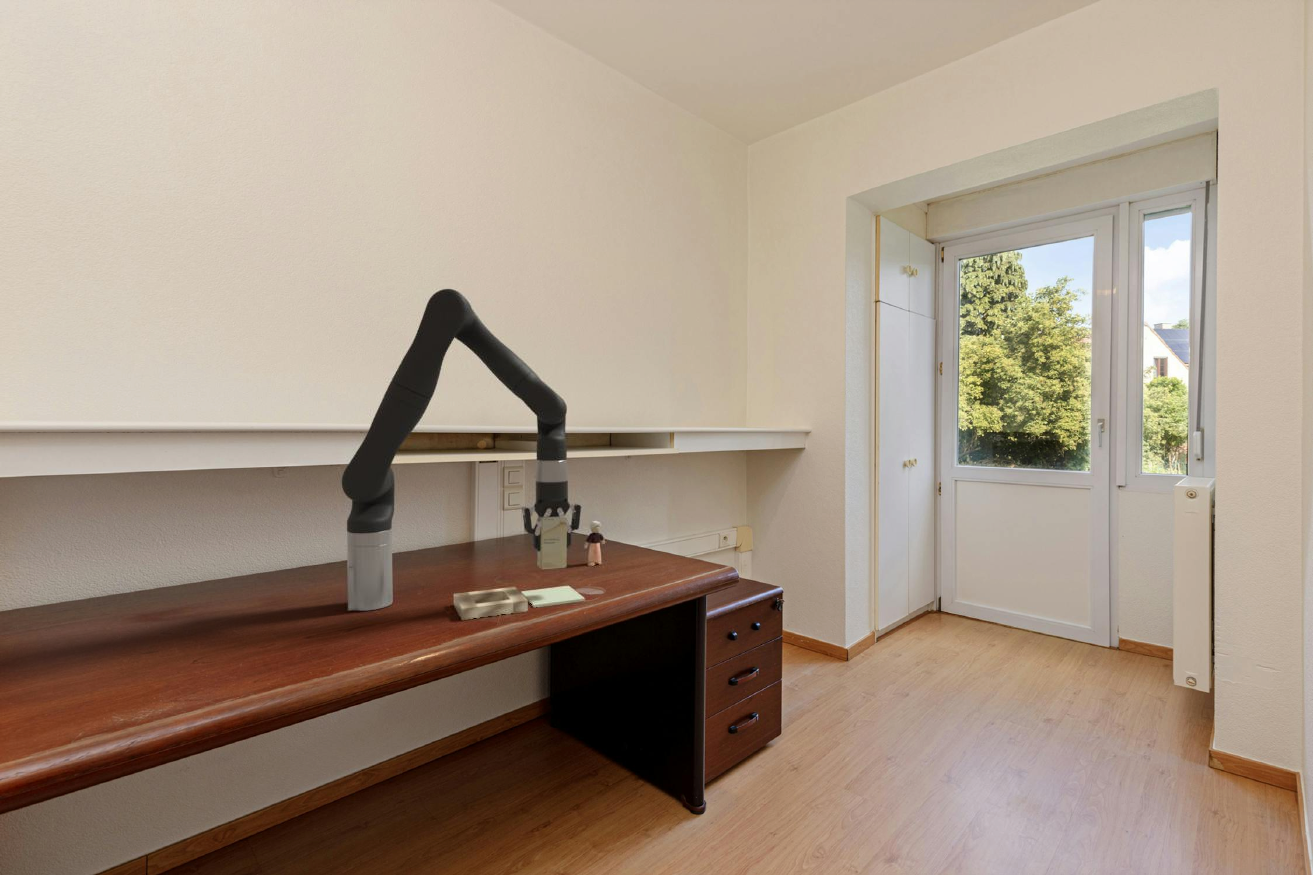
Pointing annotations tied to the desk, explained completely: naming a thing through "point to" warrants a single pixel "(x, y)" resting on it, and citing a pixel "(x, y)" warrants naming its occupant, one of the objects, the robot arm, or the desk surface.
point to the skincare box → (553, 543)
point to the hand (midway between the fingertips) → (552, 549)
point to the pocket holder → (490, 603)
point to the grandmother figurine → (594, 544)
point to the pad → (552, 596)
